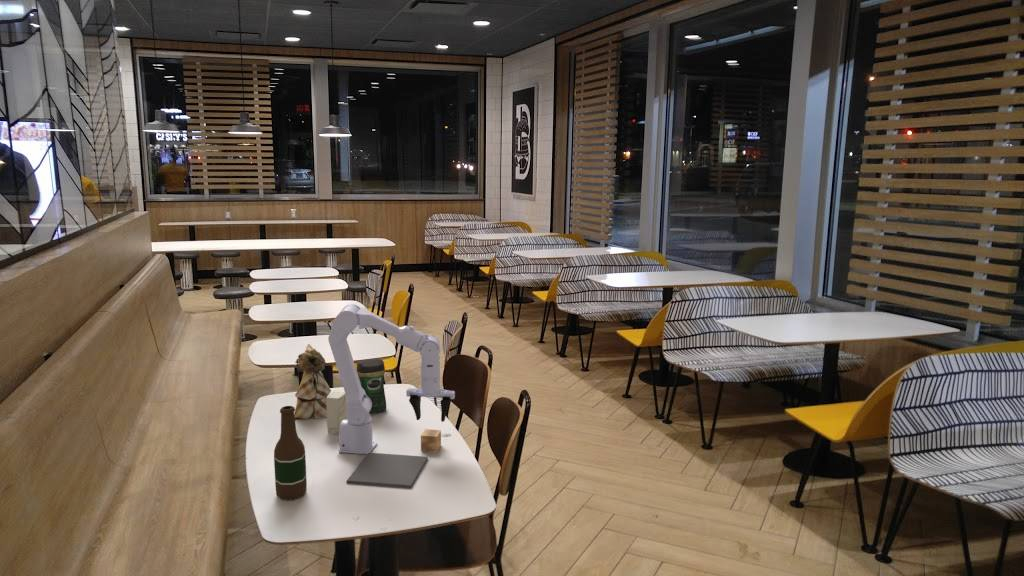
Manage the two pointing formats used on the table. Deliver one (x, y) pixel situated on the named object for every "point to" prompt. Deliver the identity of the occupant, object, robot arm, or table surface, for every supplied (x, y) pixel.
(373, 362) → the coffee jar
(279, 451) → the beer bottle
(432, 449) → the oak cube
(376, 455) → the charcoal mat
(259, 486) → the table surface
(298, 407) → the plush toy
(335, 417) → the skincare box
